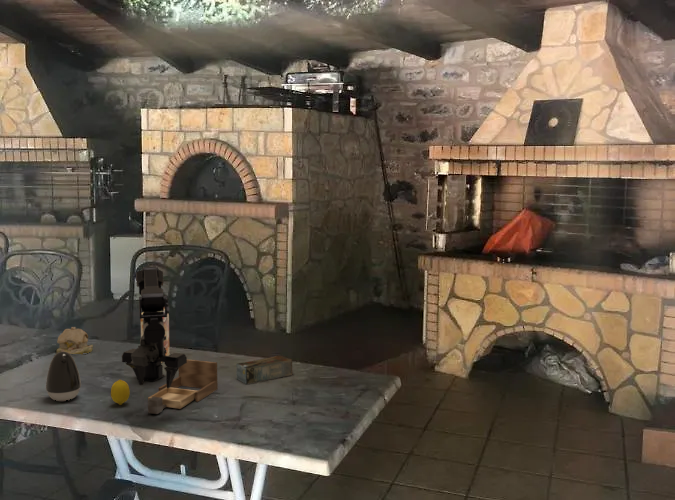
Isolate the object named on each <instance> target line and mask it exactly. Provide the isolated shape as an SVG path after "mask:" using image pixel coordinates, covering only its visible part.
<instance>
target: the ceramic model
mask: <svg viewBox="0 0 675 500" xmlns="http://www.w3.org/2000/svg"><path fill="white" fill-rule="evenodd" d="M88 341H89V335H88V333H87V332H86V331H85V330H83V329H82V328H76V326H71V328H65V329H64V330H63V332H61V333H60V334H59V335H58V337H57V342H56V343H57V344H59V346H58V347H59V348H57V349H56V353H55V354H57V353H58V352H61V351H65V352H68V353H69V354H81V355H84V354H83V353H88V354H90V353H92V352H93V348H94V345H93V344H90V345H88ZM89 352H90V353H89Z"/></svg>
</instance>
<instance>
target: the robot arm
mask: <svg viewBox="0 0 675 500" xmlns="http://www.w3.org/2000/svg"><path fill="white" fill-rule="evenodd" d="M135 275H136V278H135V279H136V287H137V288H138V294H139V295H140V296H138V308H139V309H138V310H139V319H140V320H141V319H143V318H144V319H143V336H142V337H141V336H140V339H139V345H138V346H137V348H131V349H128V350H126V351H123V353H122V354H121V363H125V365H126V366H129V367H130V368H131V369H132V370H133V372H134V374H135V376H136V379H137V381H138V384H139V385H140V386H142V385H143V384H144V381H147V382H148V381H149V382H156V381H158V380H160V379H162V378H164V377H165V375H166V378H165V379H166V380H165V381H166V383H165V384H167V388H170V386H171V384H172V381H173V380H174V379H175V376H176V374H177V372H178V371H179V367H180V366H182V365H183V364H185V363H187V359H188V358H187V357H188V356H186V354H185V353H181V352H180V353H179V352H173V353H170V355H169V356H165V354H166V348H165V347H164V340H166V336H165V328H164V325H163V318H162V317H167V314H170V307H169V306H170V305H169V299H168V297H167V295H164V290H163V288H162V286H164V271H163V270H161V269H160V268H159V267H158V266H157V265H155V266H144V267H142V268H141V270H139V271H137V272H136V274H135ZM164 309H165V313H164V312H160V311H164ZM142 312H144V313H143V315H142V314H141V313H142ZM161 362H162V363H164V365H165V367H164V368H163V364H162V363H161ZM163 369H164V371H165V372H166V374H164V373H163V372H164V371H163Z"/></svg>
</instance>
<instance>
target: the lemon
mask: <svg viewBox="0 0 675 500" xmlns="http://www.w3.org/2000/svg"><path fill="white" fill-rule="evenodd" d="M130 393H131V390H130V386H129V384H128V383H127V382H126V381H124V380H122V379H118V380H116V381H115V382H113V384H112V386H111V388H110V397H111V399H112V401H113V402H114V403H116V404H118V406H122V405H123V404H124V403H126V402H127V401H128V399H129V397H130Z"/></svg>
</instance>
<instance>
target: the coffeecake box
mask: <svg viewBox="0 0 675 500" xmlns="http://www.w3.org/2000/svg"><path fill="white" fill-rule="evenodd" d="M160 312H164V313H165V309H164V311H160ZM143 313H144V312H142V311H141V314H142V315H143ZM169 314H170V313H169ZM169 314H167V317H162V318H163V325H164V328H165V336H166V340H164V347H165V348H166V354H165V356H169V355H171V353H170V315H169ZM143 319H144V318H143ZM143 319H140V338H141V337H142V336H143ZM162 363H163V362H161V364H162Z"/></svg>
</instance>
